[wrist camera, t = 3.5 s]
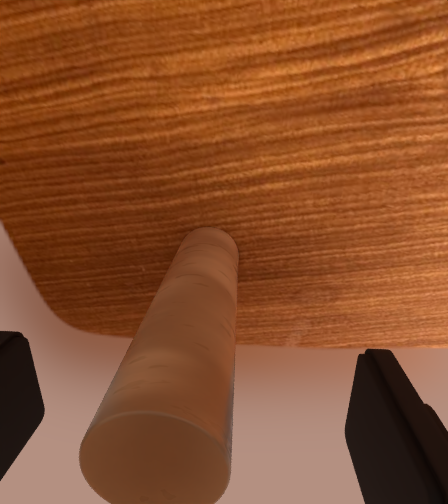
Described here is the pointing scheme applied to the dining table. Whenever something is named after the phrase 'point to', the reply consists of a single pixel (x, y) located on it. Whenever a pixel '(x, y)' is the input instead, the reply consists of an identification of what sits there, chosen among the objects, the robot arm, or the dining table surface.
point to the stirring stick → (173, 388)
